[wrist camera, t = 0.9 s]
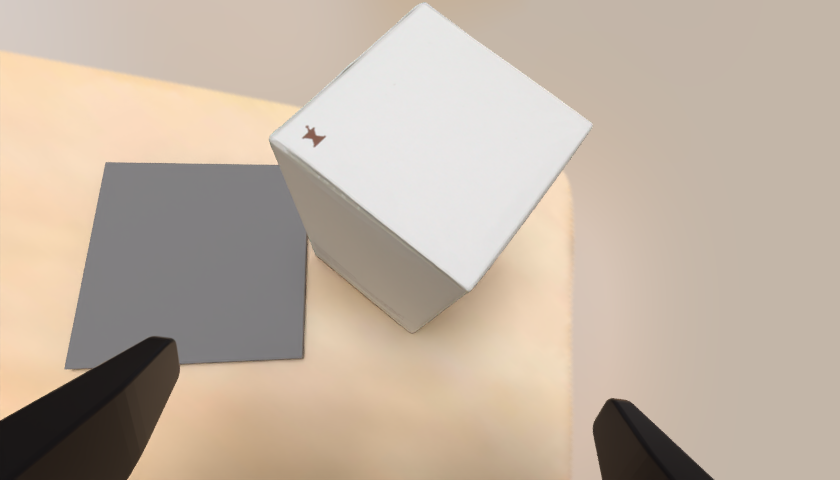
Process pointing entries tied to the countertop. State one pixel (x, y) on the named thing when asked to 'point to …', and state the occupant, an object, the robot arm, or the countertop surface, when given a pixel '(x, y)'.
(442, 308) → the supplement box
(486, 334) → the countertop surface
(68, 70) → the countertop surface
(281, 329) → the rubber mat
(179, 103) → the countertop surface
